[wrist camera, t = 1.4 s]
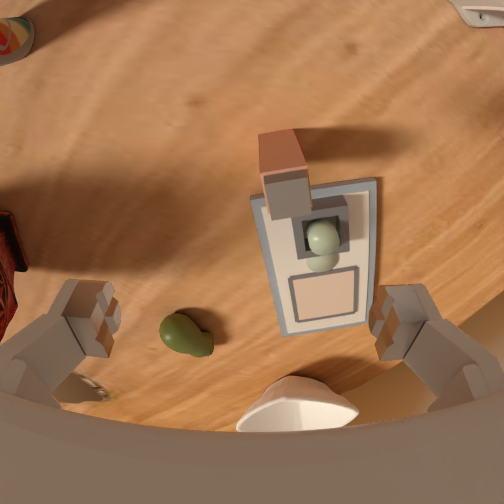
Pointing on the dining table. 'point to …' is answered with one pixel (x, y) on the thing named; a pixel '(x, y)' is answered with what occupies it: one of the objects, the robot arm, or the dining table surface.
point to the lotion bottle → (15, 39)
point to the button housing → (320, 210)
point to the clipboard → (322, 264)
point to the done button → (322, 236)
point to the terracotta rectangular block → (284, 175)
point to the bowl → (297, 408)
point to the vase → (9, 268)
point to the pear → (185, 336)
